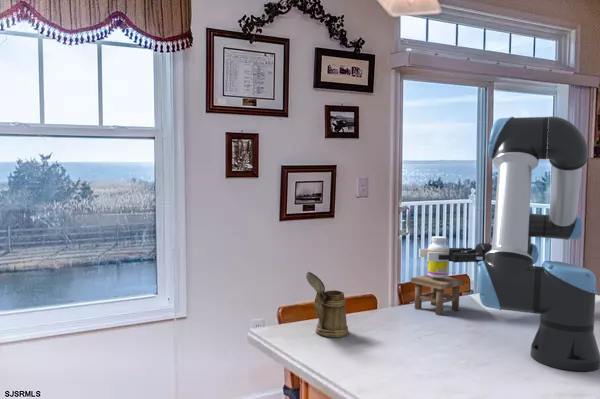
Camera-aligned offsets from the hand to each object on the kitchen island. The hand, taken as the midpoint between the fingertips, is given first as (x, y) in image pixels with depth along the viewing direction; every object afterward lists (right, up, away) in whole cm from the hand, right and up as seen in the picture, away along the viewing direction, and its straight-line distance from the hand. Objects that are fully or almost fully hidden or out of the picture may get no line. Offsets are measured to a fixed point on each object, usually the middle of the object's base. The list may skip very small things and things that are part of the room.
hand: (423, 254), depth 170 cm
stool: (+5, -18, +2) cm, 19 cm away
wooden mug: (-33, -19, -26) cm, 46 cm away
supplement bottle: (+5, -7, +1) cm, 9 cm away
